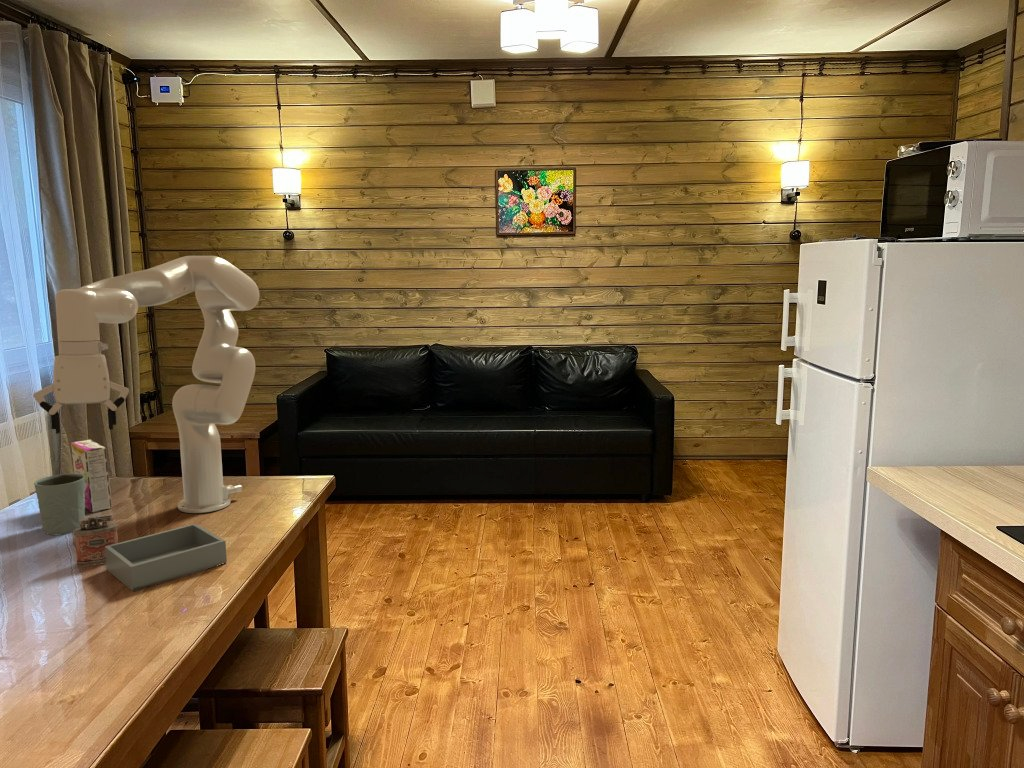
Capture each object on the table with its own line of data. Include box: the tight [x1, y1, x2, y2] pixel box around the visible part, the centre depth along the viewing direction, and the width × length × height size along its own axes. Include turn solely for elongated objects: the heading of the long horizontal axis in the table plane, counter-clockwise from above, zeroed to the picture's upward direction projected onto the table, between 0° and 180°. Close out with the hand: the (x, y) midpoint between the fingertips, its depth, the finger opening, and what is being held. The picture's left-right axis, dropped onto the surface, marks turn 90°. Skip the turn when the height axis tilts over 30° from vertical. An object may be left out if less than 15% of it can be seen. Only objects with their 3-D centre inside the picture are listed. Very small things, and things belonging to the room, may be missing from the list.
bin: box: [105, 523, 228, 592], centre depth 154 cm, size 19×15×5 cm
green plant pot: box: [33, 473, 86, 535], centre depth 175 cm, size 10×10×12 cm
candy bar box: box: [70, 439, 112, 513], centre depth 190 cm, size 11×5×16 cm, turn 47°
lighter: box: [73, 513, 119, 567], centre depth 156 cm, size 8×3×10 cm, turn 117°
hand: (84, 430), depth 156 cm, fingers open, 9 cm apart
